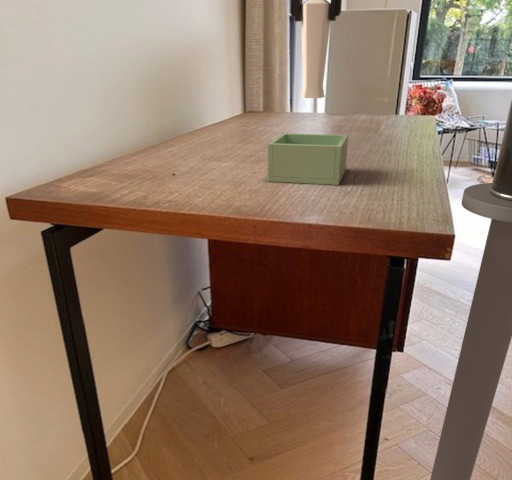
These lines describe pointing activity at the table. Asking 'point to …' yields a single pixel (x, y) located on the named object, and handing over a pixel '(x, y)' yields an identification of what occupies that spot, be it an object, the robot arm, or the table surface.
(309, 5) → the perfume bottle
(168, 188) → the table surface
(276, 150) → the bin
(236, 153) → the table surface
